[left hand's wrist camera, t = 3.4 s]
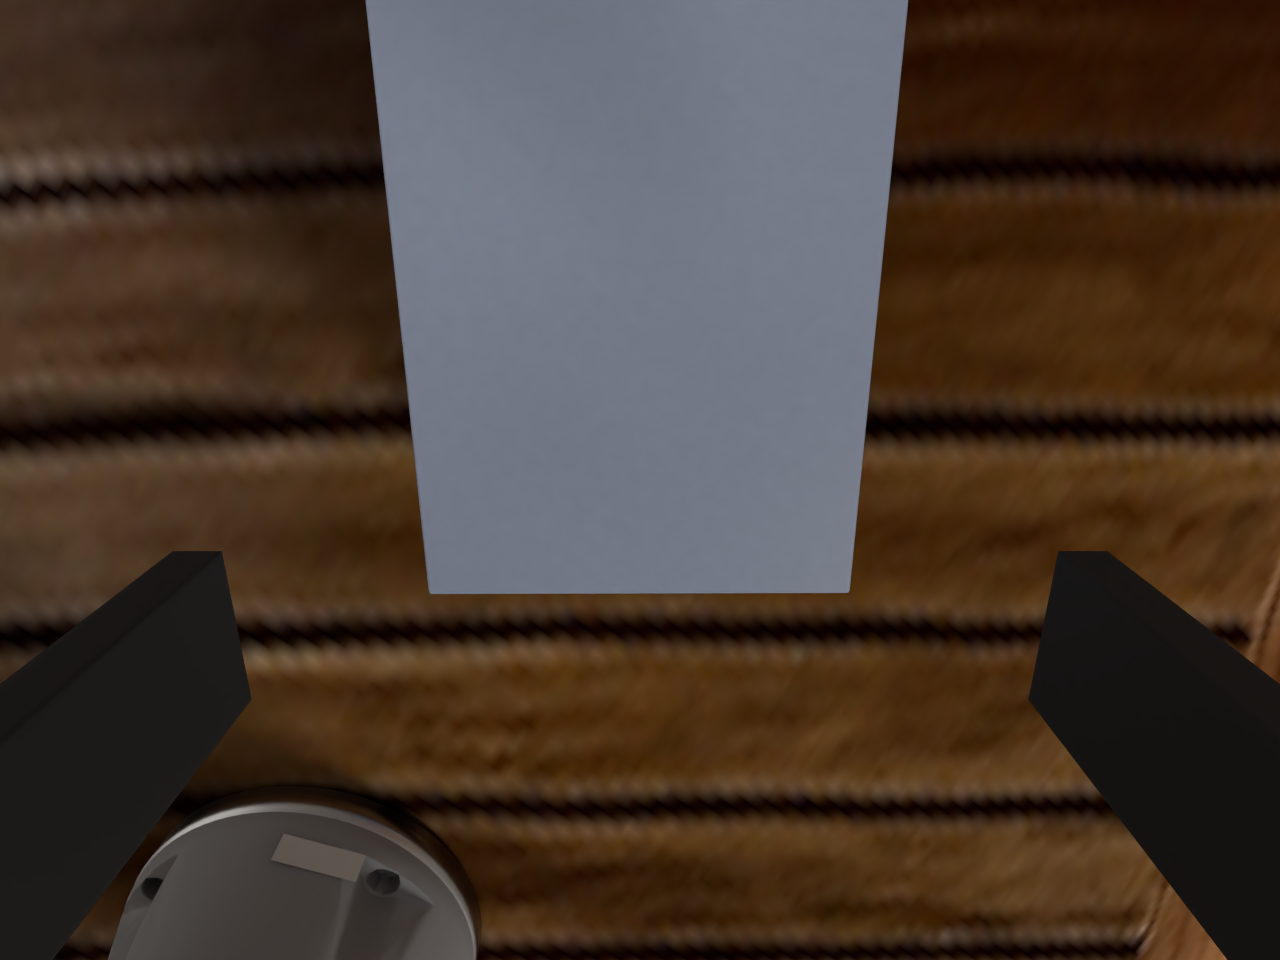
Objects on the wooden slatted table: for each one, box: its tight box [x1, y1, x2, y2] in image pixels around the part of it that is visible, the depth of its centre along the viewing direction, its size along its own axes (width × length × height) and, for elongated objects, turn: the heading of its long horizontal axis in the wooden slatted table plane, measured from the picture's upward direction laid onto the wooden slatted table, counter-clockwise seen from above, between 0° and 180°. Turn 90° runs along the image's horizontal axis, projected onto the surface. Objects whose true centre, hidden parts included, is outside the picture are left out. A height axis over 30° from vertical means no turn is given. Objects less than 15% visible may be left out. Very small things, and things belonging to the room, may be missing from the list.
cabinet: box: [366, 0, 908, 594], centre depth 21 cm, size 21×11×9 cm, turn 0°
